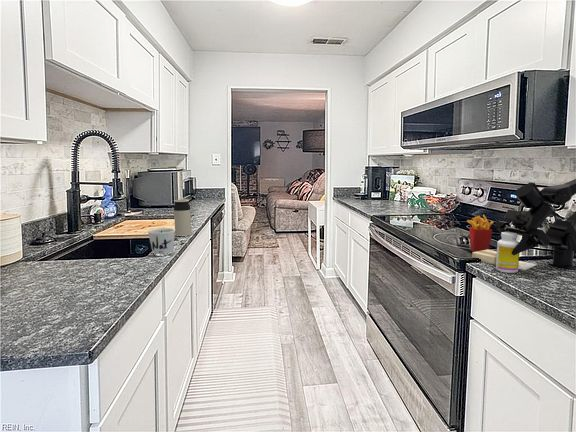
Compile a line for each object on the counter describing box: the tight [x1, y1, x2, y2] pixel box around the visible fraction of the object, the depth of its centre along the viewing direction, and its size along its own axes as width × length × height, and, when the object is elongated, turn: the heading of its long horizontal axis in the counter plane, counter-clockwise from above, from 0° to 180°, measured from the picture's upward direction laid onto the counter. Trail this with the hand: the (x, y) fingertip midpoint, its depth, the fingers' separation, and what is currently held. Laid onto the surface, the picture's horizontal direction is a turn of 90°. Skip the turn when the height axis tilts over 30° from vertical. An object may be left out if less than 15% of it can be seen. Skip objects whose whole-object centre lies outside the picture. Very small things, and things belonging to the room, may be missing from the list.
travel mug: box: [173, 198, 192, 236], centre depth 202 cm, size 8×8×18 cm
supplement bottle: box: [495, 232, 520, 274], centre depth 134 cm, size 7×7×13 cm
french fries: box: [466, 214, 494, 252], centre depth 159 cm, size 9×8×15 cm
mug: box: [147, 228, 175, 253], centre depth 166 cm, size 10×15×10 cm
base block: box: [471, 249, 497, 265], centre depth 148 cm, size 9×9×2 cm
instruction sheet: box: [518, 260, 538, 271], centre depth 141 cm, size 10×8×1 cm
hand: (504, 251), depth 134 cm, fingers closed on supplement bottle, 7 cm apart
